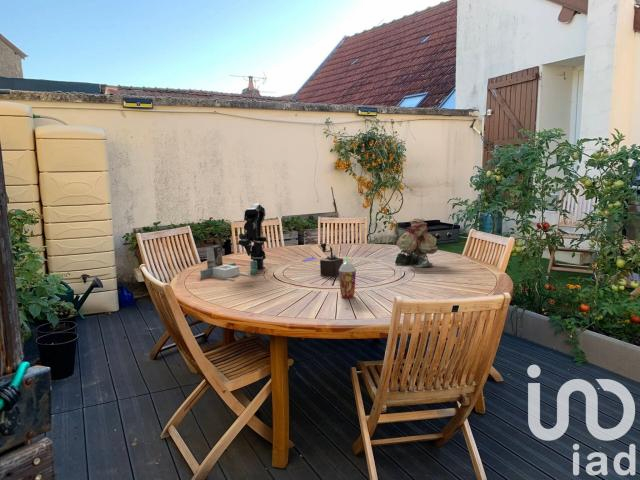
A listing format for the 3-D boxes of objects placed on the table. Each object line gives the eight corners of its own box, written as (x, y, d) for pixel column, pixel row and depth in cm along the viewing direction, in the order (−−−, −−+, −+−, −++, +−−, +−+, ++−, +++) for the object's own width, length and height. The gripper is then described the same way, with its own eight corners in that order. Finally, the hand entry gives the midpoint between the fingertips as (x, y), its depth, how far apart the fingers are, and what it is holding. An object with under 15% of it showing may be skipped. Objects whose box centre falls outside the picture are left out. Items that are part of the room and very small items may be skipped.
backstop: (233, 270, 279) (233, 262, 278) (257, 274, 267) (257, 266, 266) (200, 278, 258) (200, 270, 258) (225, 283, 246) (224, 274, 245)
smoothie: (338, 294, 219) (337, 255, 216) (354, 294, 220) (354, 254, 217) (340, 299, 211) (339, 258, 208) (357, 298, 212) (357, 258, 209)
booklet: (331, 265, 290) (331, 264, 290) (301, 261, 305) (301, 260, 305) (341, 261, 300) (341, 260, 300) (312, 258, 315) (312, 257, 315)
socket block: (226, 272, 272) (226, 264, 271) (239, 274, 265) (238, 266, 265) (213, 276, 263) (212, 267, 262) (225, 278, 257) (225, 270, 256)
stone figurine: (393, 267, 279) (393, 220, 274) (402, 258, 306) (402, 215, 301) (434, 270, 270) (435, 221, 265) (439, 260, 296) (441, 216, 292)
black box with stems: (344, 273, 265) (344, 244, 262) (334, 277, 256) (334, 246, 253) (323, 270, 273) (322, 242, 271) (312, 274, 264) (312, 244, 262)
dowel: (254, 273, 270) (253, 260, 269) (258, 273, 267) (258, 261, 266) (249, 274, 267) (248, 261, 265) (254, 275, 264) (253, 262, 263)
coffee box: (216, 273, 272) (215, 247, 269) (207, 272, 274) (205, 247, 271) (223, 269, 281) (222, 245, 278) (214, 269, 282) (213, 244, 280)
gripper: (253, 226, 275) (254, 251, 277) (231, 230, 260) (232, 256, 262) (266, 227, 268) (267, 252, 271) (244, 231, 253) (245, 257, 256)
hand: (253, 254), depth 265 cm, fingers open, 7 cm apart
